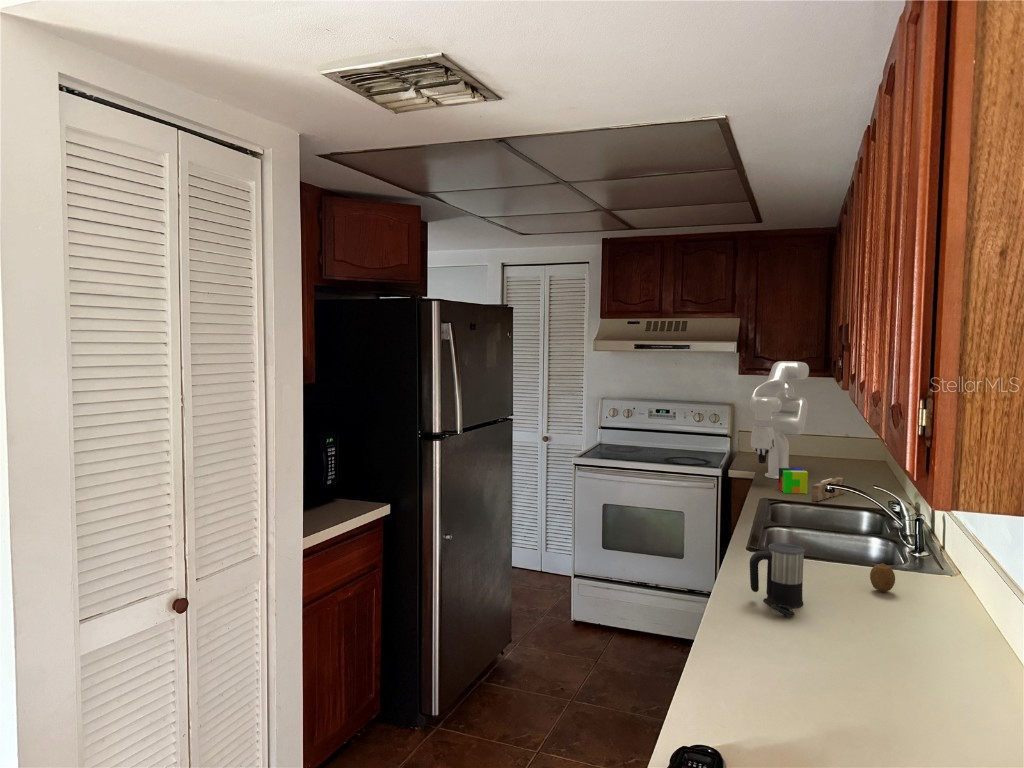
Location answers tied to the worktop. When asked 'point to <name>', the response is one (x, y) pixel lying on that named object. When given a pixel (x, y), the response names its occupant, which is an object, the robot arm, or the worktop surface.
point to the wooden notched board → (820, 493)
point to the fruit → (882, 577)
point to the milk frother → (780, 576)
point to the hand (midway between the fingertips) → (762, 462)
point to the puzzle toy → (793, 480)
